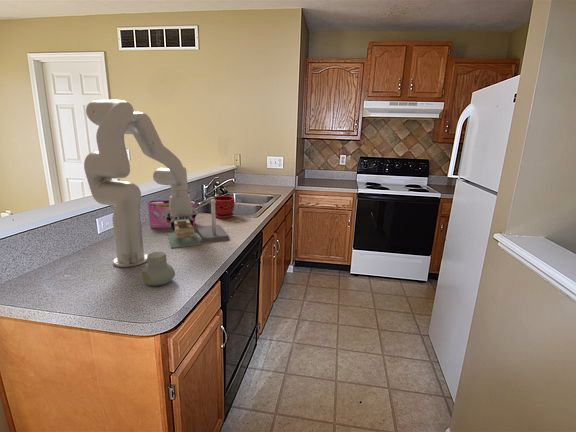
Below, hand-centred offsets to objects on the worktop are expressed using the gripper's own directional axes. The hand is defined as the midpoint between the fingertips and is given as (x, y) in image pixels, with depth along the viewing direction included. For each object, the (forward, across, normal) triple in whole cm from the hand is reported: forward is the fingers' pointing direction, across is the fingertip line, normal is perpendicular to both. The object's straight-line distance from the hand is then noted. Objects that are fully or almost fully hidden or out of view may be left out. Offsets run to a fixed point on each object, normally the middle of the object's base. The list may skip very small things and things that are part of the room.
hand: (182, 228), depth 153 cm
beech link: (+1, 0, +4) cm, 4 cm away
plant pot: (+5, -28, -31) cm, 42 cm away
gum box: (+5, +3, -22) cm, 22 cm away
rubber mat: (+4, 0, +4) cm, 6 cm away
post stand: (+4, -14, +2) cm, 15 cm away
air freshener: (+4, +13, +47) cm, 49 cm away
